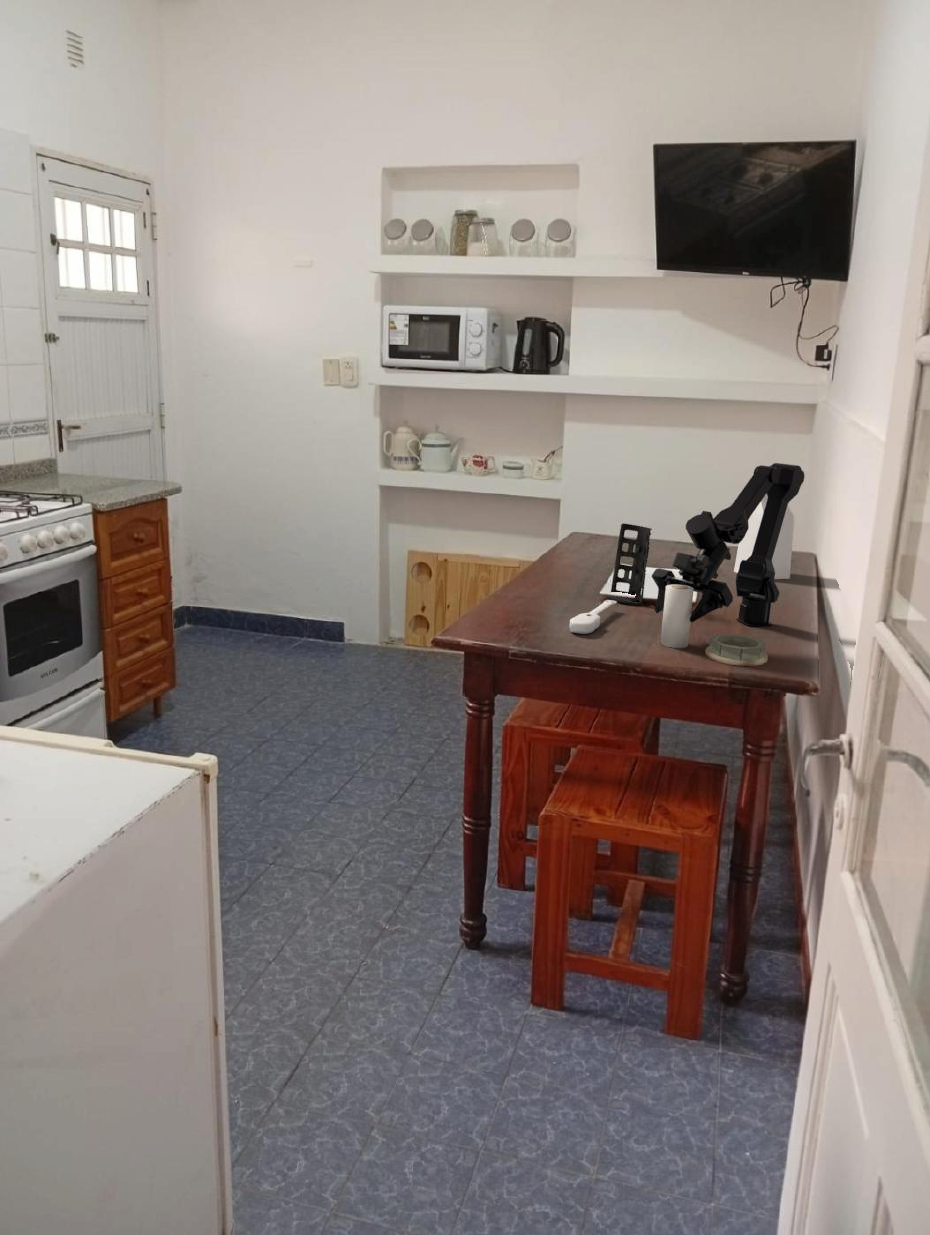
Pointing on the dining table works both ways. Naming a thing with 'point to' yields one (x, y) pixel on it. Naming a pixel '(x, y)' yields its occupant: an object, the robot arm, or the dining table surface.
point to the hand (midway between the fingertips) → (673, 616)
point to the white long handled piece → (589, 619)
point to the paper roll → (676, 616)
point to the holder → (638, 563)
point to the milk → (783, 545)
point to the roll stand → (737, 650)
